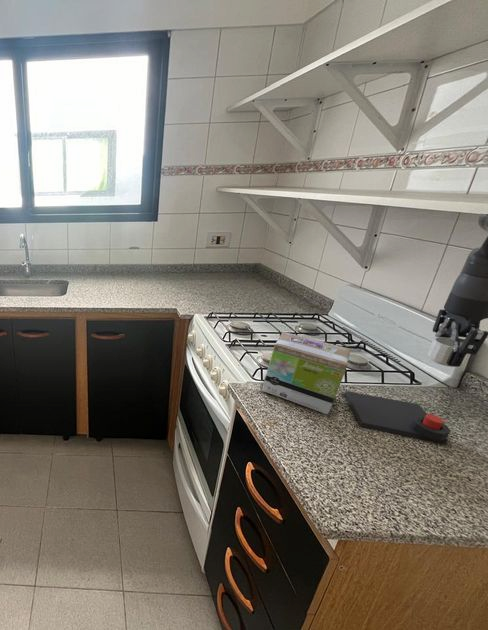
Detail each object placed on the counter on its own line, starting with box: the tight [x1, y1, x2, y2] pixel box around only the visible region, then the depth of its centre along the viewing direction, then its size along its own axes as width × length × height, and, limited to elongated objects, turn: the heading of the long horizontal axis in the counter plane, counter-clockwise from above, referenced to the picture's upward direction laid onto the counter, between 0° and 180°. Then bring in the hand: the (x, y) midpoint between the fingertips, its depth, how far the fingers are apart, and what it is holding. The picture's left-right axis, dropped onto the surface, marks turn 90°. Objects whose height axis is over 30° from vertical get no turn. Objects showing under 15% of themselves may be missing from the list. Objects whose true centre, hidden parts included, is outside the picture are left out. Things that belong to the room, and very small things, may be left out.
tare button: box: [422, 413, 445, 430], centre depth 76 cm, size 3×3×2 cm
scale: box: [343, 390, 451, 445], centre depth 82 cm, size 15×14×3 cm
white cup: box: [426, 336, 469, 368], centre depth 83 cm, size 6×6×5 cm
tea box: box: [261, 331, 351, 415], centre depth 88 cm, size 15×10×15 cm
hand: (444, 358), depth 84 cm, fingers closed on white cup, 6 cm apart
